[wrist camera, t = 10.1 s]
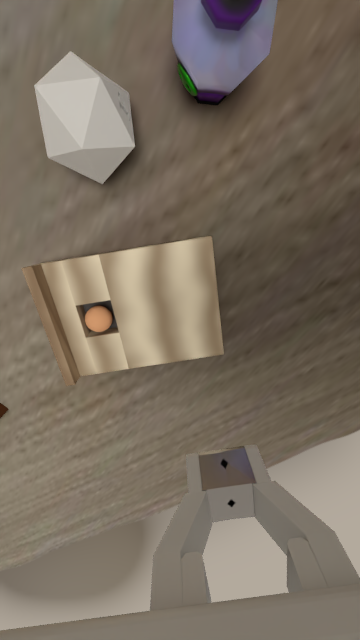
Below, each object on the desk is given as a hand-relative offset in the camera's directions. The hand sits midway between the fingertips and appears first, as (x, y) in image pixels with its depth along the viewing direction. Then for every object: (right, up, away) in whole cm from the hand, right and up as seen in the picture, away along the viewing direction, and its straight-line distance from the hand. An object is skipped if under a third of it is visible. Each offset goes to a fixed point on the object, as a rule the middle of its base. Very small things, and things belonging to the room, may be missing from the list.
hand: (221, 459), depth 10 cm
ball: (-12, +7, +24) cm, 27 cm away
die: (-11, +26, +17) cm, 33 cm away
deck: (-8, +8, +24) cm, 26 cm away
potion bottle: (+1, +32, +15) cm, 35 cm away
